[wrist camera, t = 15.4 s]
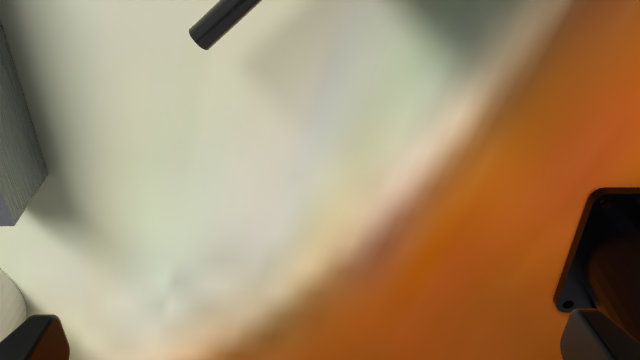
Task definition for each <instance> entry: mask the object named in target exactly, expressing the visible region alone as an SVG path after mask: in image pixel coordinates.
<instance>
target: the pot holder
mask: <svg viewBox="0 0 640 360" xmlns="http://www.w3.org/2000/svg"><path fill="white" fill-rule="evenodd" d="M47 175H48V173H47V170H46V167H45V164H44V160H43V157H42V154H41V151H40V148H39V144H38V141H37V138H36V135H35V132H34V128H33V125H32V122H31V119H30V116H29V112H28V109H27V106H26V103H25V100H24V96H23V93H22V90H21V87H20V83H19V80H18V77H17V74H16V71H15V67H14V64H13V61H12V58H11V55H10V51H9V48H8V45H7V42H6V39H5V35H4V32H3V29H2V26H1V23H0V226H15V224H16V223H17V221H18V220H19V218H20V217H21V215H22V213H23V212H24V210H25V209H26V207H27V206H28V204H29V203H30V201H31V200H32V198H33V197H34V195H35V194H36V192H37V191H38V189H39V187H40V186H41V184H42V183H43V181H44V180H45V178H46V177H47Z"/></svg>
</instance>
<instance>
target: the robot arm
mask: <svg viewBox="0 0 640 360" xmlns="http://www.w3.org/2000/svg"><path fill="white" fill-rule="evenodd" d="M605 199H607V200H606V201H605V202H603V203H600V202H601V201H603V200H605ZM554 303H555V305H556V307H557V309H558V310H559V311H561V312H571V314H570V316H569V319H568V321H567V324H566V327H565V329H564V332H563V335H562V337H561V342H560V348H561V354H562V357H563V360H640V188H600V189H598V190H595V191H594V192H593V193H592V194H591V195H590V196H589V198H588V201H587V204H586V207H585V209H584V212H583V215H582V218H581V221H580V224H579V227H578V230H577V232H576V235H575V238H574V241H573V244H572V247H571V250H570V253H569V255H568V258H567V261H566V264H565V267H564V270H563V273H562V276H561V278H560V281H559V284H558V287H557V290H556V293H555V296H554ZM69 355H70V348H69V343H68V341H67V338H66V335H65V332H64V330H63V327H62V324H61V321H60V319H59V318H58V317H57V316H56V315H33V316H31V317H29V318H28V319H26V320H25V321H24V322H23V323H22V324H21V325H19V326H18V327H17V328H16V329H15V330H14V331H12V332H11V333H10V334H9V335H8V336H7V337H6V338H4V339H3V340H2V341H1V342H0V360H69Z"/></svg>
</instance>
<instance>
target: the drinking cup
mask: <svg viewBox="0 0 640 360" xmlns="http://www.w3.org/2000/svg"><path fill="white" fill-rule="evenodd" d="M261 1H262V0H220V1H219V2H218V3H217V4H216V5H215V6H214V7H213V8H211V9H210V10H209V11H208V12H207V13H206V14H205V15H204V16H203V17H202V18H201V19H200V20H199V21H198V22H197V23H196V24H195V25H194V26H192V27H191V28H190V29H189V33H190V36H191V37H192V39H193V40H194V41H195V42H196V43H197V44H198V45H199V46H200V47H201V48H203V49H205V50H208V49H210V48H211V47H212V46H213V45H214V44H215V43H216V42H217V41H218V40H219V39H220V38H222V37H223V36H224V35H225V34H226V33H227V32H228V31H229V30H230V29H231V28H232V27H234V26H235V25H236V24H237V23H238V22H239V21H240V20H241V19H242V18H243V17H244V16H246V15H247V14H248V13H249V12H250V11H251V10H252V9H253V8H254V7H255V6H256V5H257V4H259V3H260V2H261Z"/></svg>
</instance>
